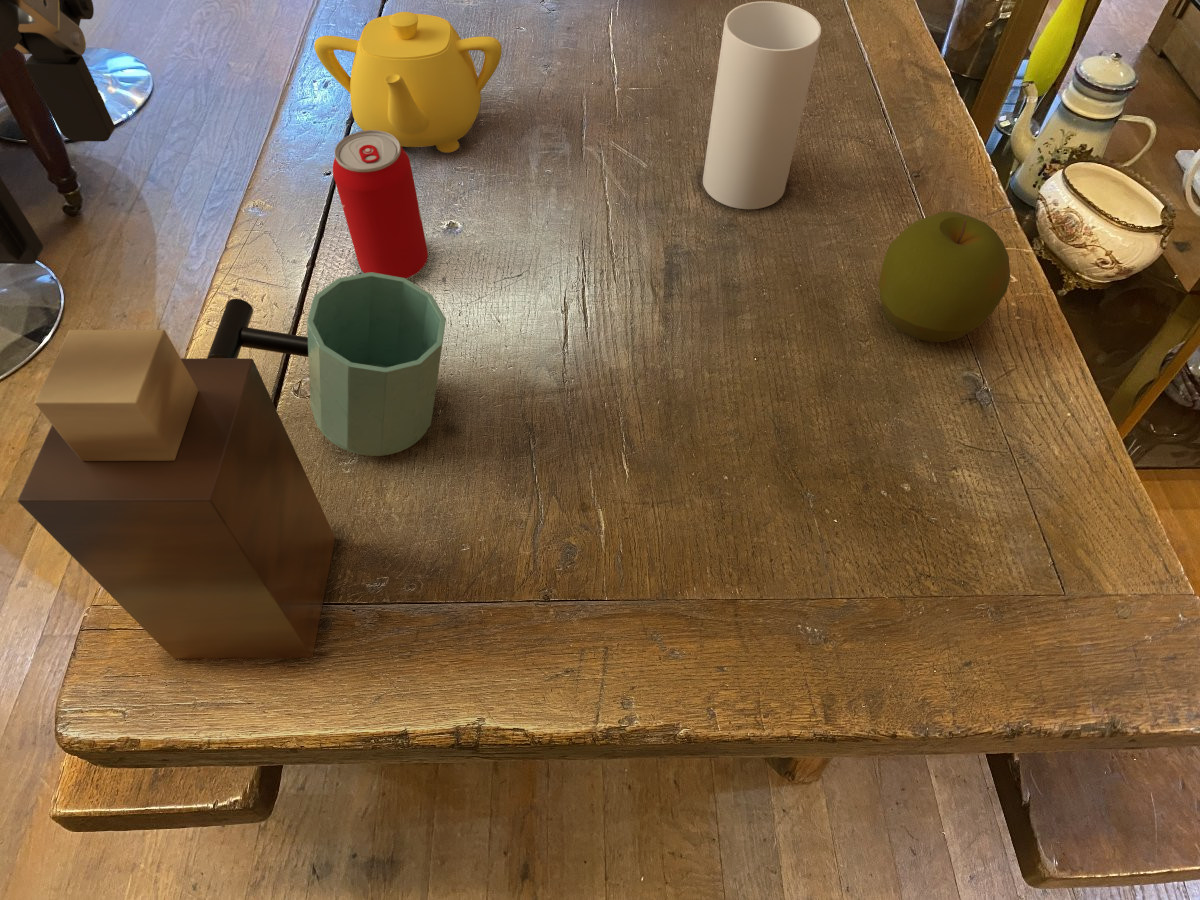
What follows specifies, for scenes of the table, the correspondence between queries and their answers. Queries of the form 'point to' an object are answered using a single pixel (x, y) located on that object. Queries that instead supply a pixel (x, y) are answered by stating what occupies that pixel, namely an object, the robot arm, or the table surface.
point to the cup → (759, 102)
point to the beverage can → (380, 203)
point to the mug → (358, 359)
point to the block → (119, 395)
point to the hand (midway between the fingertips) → (57, 193)
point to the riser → (200, 526)
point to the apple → (943, 277)
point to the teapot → (413, 78)
